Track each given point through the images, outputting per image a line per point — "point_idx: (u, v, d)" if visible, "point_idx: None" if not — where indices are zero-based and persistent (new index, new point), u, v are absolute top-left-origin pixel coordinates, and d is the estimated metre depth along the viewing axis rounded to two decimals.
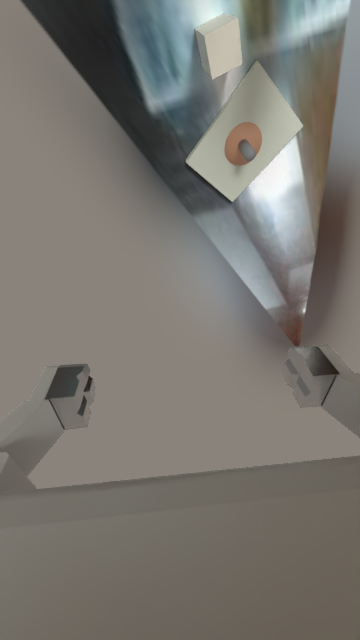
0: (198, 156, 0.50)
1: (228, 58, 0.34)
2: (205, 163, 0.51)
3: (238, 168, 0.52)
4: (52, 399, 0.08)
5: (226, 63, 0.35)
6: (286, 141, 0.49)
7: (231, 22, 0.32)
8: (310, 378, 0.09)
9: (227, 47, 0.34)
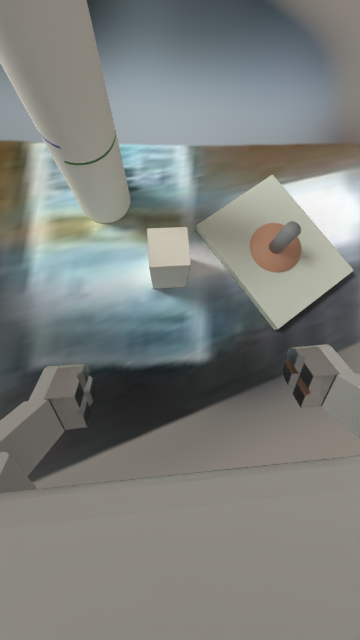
0: (274, 308, 0.34)
1: (177, 242, 0.27)
2: (286, 301, 0.34)
3: (304, 256, 0.35)
4: (52, 399, 0.08)
5: (180, 246, 0.27)
6: (285, 193, 0.37)
7: (148, 235, 0.27)
8: (310, 378, 0.09)
9: (167, 242, 0.27)
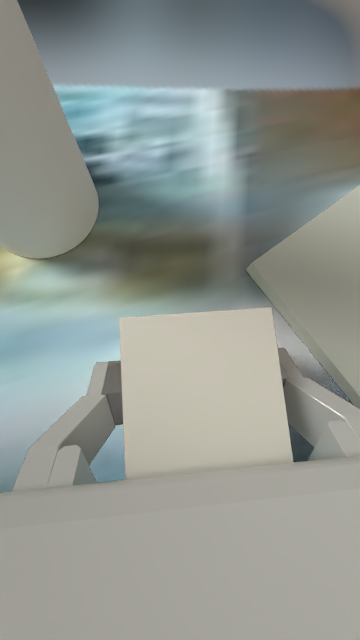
0: None
1: (235, 373, 0.07)
2: None
3: None
4: (109, 394, 0.08)
5: (249, 387, 0.07)
6: None
7: (124, 347, 0.07)
8: None
9: (198, 372, 0.07)
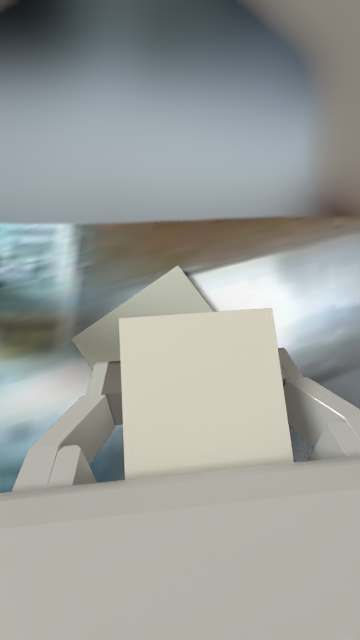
0: None
1: (236, 374, 0.07)
2: None
3: None
4: (109, 394, 0.08)
5: (250, 388, 0.07)
6: (193, 291, 0.28)
7: (124, 348, 0.07)
8: None
9: (198, 373, 0.07)
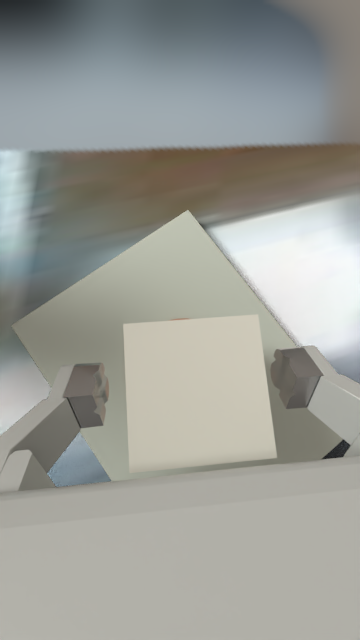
0: None
1: (226, 373, 0.08)
2: None
3: None
4: (70, 398, 0.08)
5: (238, 385, 0.08)
6: (212, 249, 0.17)
7: (127, 350, 0.08)
8: (294, 379, 0.09)
9: (193, 372, 0.08)
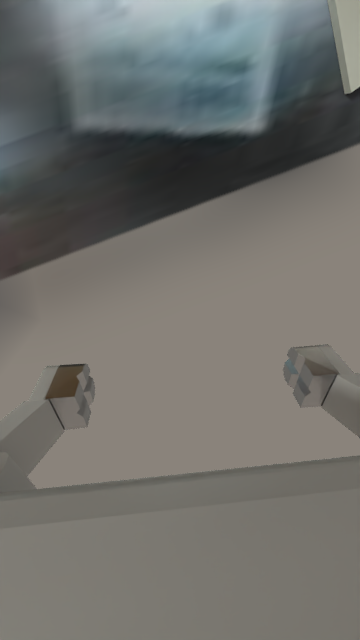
0: (359, 59, 0.28)
1: None
2: None
3: None
4: (52, 399, 0.08)
5: None
6: None
7: None
8: (310, 378, 0.09)
9: None
